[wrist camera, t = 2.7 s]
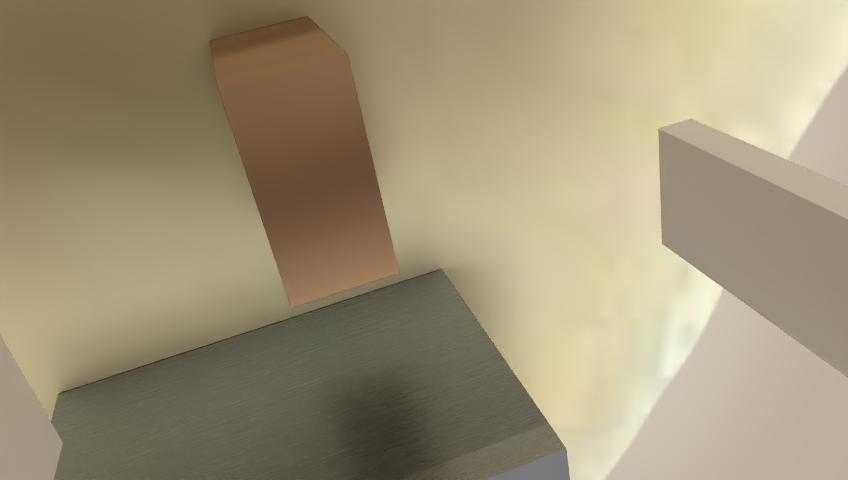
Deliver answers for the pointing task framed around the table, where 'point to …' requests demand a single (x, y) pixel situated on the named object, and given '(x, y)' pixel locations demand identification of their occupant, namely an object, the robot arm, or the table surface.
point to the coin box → (321, 403)
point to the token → (305, 156)
